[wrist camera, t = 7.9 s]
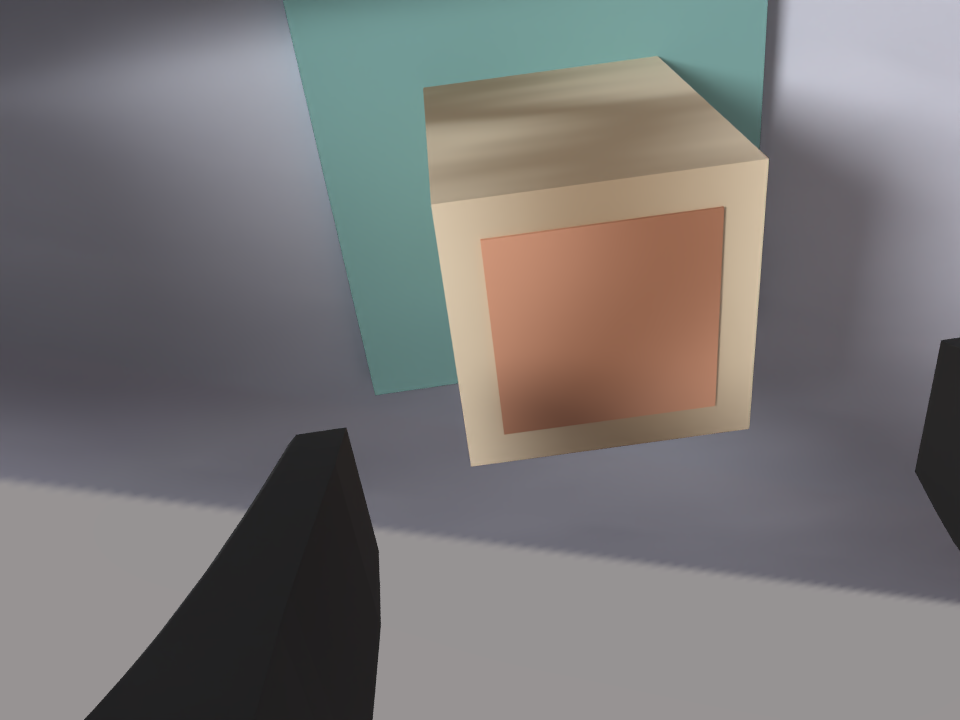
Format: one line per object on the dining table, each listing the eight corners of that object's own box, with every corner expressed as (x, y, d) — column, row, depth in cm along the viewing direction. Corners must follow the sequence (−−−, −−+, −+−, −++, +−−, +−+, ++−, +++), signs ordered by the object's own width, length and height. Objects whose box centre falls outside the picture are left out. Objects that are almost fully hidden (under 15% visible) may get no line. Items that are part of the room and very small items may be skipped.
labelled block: (453, 295, 19) (471, 468, 14) (422, 87, 16) (431, 206, 11) (657, 267, 19) (750, 430, 14) (657, 56, 16) (770, 159, 11)
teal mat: (375, 383, 21) (375, 395, 20) (284, -12, 16) (281, -8, 15) (741, 330, 21) (748, 341, 20) (762, -82, 16) (772, -80, 15)
